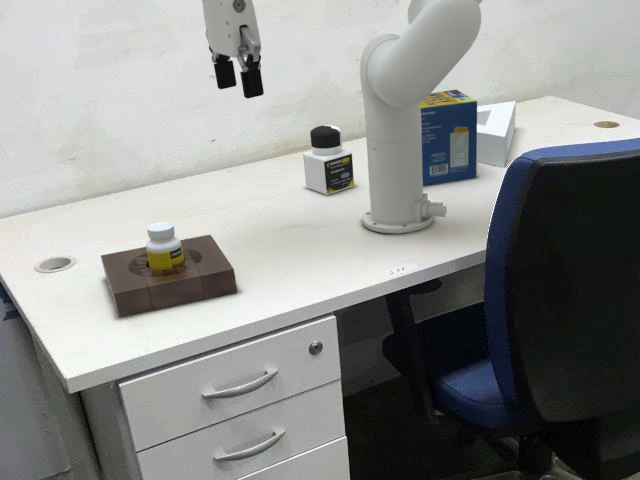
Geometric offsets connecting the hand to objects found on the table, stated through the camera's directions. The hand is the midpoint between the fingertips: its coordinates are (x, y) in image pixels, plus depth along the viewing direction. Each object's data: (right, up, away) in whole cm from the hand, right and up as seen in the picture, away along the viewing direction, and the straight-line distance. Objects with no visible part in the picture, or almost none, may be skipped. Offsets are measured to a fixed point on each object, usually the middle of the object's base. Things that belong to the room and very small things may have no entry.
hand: (240, 91), depth 135 cm
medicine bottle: (+12, -7, +35) cm, 38 cm away
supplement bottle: (-11, -31, -1) cm, 33 cm away
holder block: (-11, -31, -2) cm, 33 cm away
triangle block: (+46, +8, +58) cm, 74 cm away
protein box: (+33, -4, +38) cm, 51 cm away
